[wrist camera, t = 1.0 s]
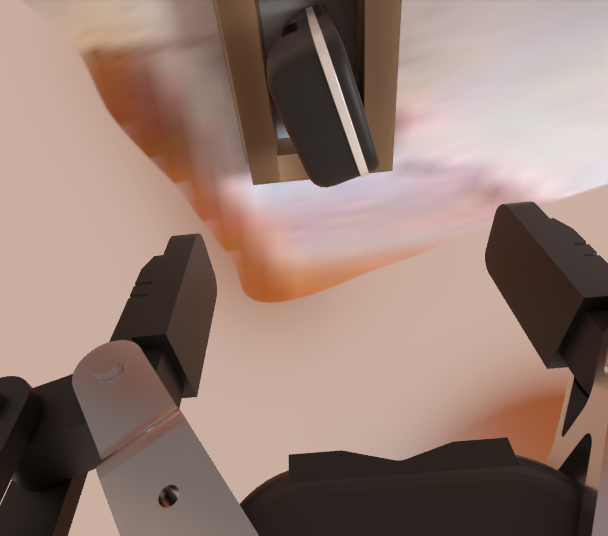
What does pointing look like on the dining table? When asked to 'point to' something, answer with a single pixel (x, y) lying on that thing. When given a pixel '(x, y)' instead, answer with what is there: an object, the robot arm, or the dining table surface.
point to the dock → (258, 101)
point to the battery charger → (320, 100)
